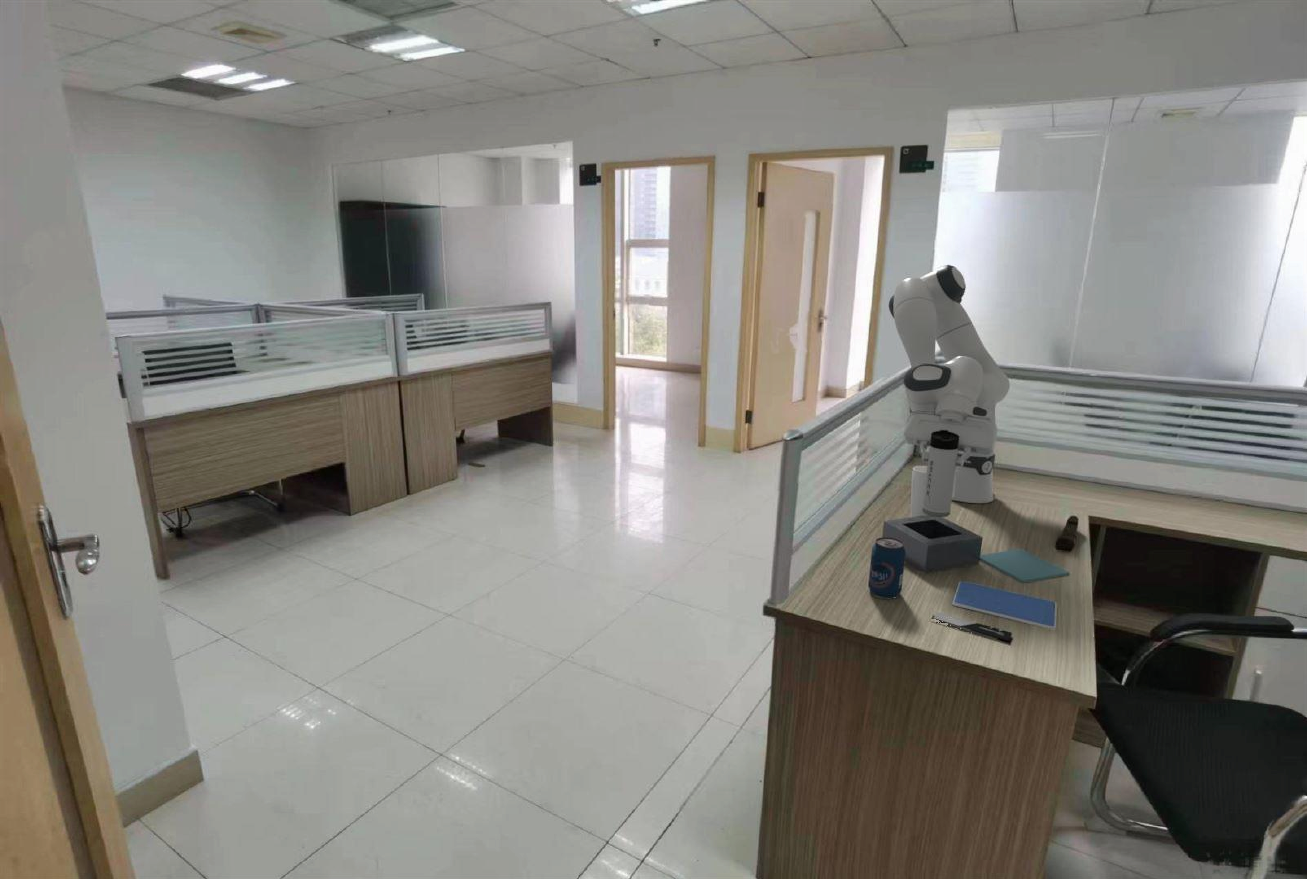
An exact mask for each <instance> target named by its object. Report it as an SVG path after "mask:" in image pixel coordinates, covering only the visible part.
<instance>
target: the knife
mask: <svg viewBox="0 0 1307 879" xmlns="http://www.w3.org/2000/svg"><path fill="white" fill-rule="evenodd" d="M934 615H935V616H934ZM931 619H936V620H939V621H940V622H941V623H948V625H947V626H948V628H950V627H952V628H951V629H954V628H957V629H959V630H958V631H961V632H965V633H967V632H969V633H968V634H971V635H974V636H977V637H982V638H984V639H988V640H992V641H995V642H999V643H1001V644H1005V645H1008V646H1011V645H1012V642H1013V639H1014V637H1012V631H1007V630H1004V629H1002V630H1001V629H1000V628H996V627H991V626H990V625H986V624H983V623H978V622H974V621H969V620H966V619H962V618H959V617H955V616H952V615H949V614H945V613H942V612H939V611H937V612H936V613H935V614H933V615H932V617H931V618H930V620H931ZM942 621H943V622H942ZM940 622H939V623H940ZM937 623H938V622H936V623H935V624H937ZM950 625H951V626H950ZM947 626H946V627H947ZM960 628H961V629H960ZM957 629H956V630H957ZM971 632H972V633H971Z"/></svg>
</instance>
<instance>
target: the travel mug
mask: <svg viewBox="0 0 1307 879" xmlns="http://www.w3.org/2000/svg"><path fill="white" fill-rule="evenodd" d="M958 444H959V436H958V435H957V434H955V433H952V432H948V430H940V431H935V432H933V433H932V434H931V442H930V447H928V448H929V449H928V452H929V456H928V461H927V465H926V466H927V473H926V482H925V491H924V499H923V508H922V511H923V512H924V513H925V514H927V515H930V516H934V517H943V518H945V517H948V516H950V515H951V508H952V501H953V500H952V493H953V485H954V477H955V470H956V460H957V454H958V451H957V450H958Z"/></svg>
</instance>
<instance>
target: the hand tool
mask: <svg viewBox="0 0 1307 879" xmlns="http://www.w3.org/2000/svg"><path fill="white" fill-rule="evenodd" d="M1078 526H1079V517H1078V516H1077V515H1070V516H1069V518H1067V520H1066V522H1065V526H1064V528H1063V530H1062V532H1061V534H1060V536H1059V537H1057V539H1056V541H1055V545H1054V547H1055V549H1056V550H1057V551H1060V552H1063V553H1064V552H1065V553H1071V552H1072V551H1073V548H1074V547H1075V545H1076V544H1075V540H1076V538H1077V531H1078V528H1079V527H1078Z"/></svg>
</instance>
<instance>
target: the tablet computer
mask: <svg viewBox="0 0 1307 879" xmlns="http://www.w3.org/2000/svg"><path fill="white" fill-rule="evenodd" d="M951 604H952V606H955V607H957V608H963V609H967V610H971V611H975V612H978V613H982V614H987V615H991V616H995V617H998V618H999V617H1000V618H1003V619H1005V620H1006V619H1007V620H1010V621H1016V622H1019V623H1024V624H1028V625H1031V626H1034V625H1035V627H1038V628H1043V629H1046V628H1049V629H1048V630H1051V629H1053V631H1055V630H1057V614H1058V613H1057V612H1058V610H1057V609H1058V608H1057V607H1058V603H1056V602H1055V601H1054V600H1048V599H1044V598H1039V597H1035V596H1030V595H1027V594H1021V593H1016V592H1013V591H1008V590H1005V589H999V588H996V587H990V586H987V585H982V584H979V583H973V582H969V581H965V580H961V581H959V582H958V585H957V587H956V590H955V593H954V598H953V600H952V602H951ZM1054 629H1055V630H1054Z"/></svg>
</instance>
